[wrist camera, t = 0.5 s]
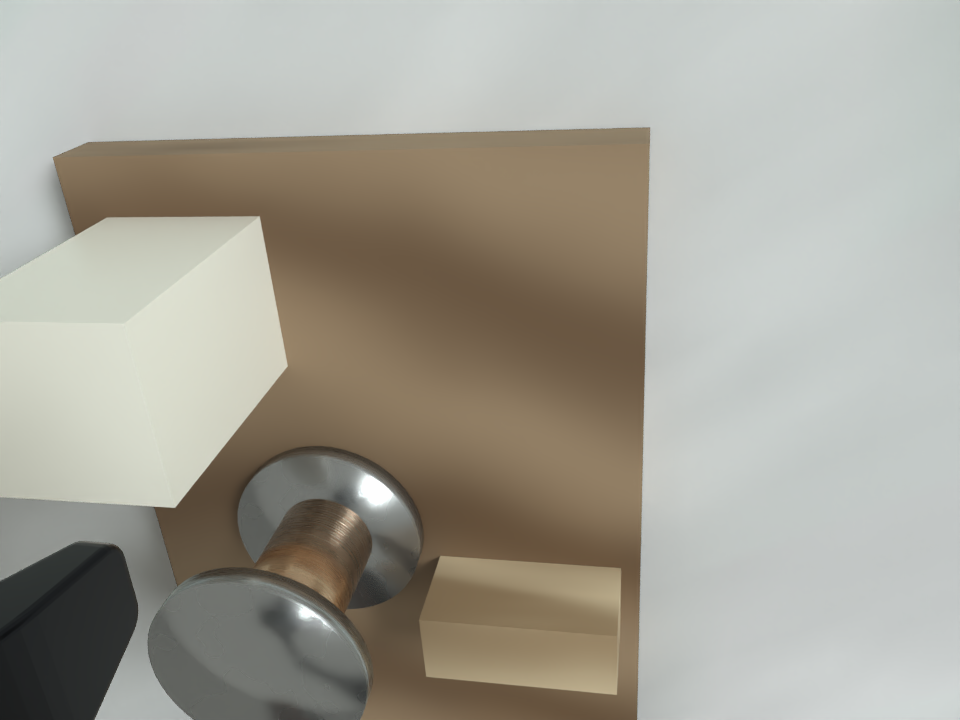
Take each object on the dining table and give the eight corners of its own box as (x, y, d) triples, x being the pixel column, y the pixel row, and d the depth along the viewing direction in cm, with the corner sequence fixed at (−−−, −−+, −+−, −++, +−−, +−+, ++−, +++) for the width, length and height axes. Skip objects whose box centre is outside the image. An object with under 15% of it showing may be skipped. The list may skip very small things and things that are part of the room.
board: (635, 764, 29) (635, 804, 28) (244, 721, 32) (226, 756, 30) (649, 127, 20) (649, 143, 18) (88, 142, 22) (52, 157, 21)
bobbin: (432, 600, 25) (378, 764, 21) (264, 587, 26) (176, 741, 21) (414, 449, 23) (349, 595, 18) (230, 441, 24) (123, 577, 19)
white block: (288, 366, 22) (175, 508, 17) (146, 362, 23) (-4, 497, 18) (259, 216, 21) (124, 323, 15) (106, 217, 21) (-72, 320, 16)
